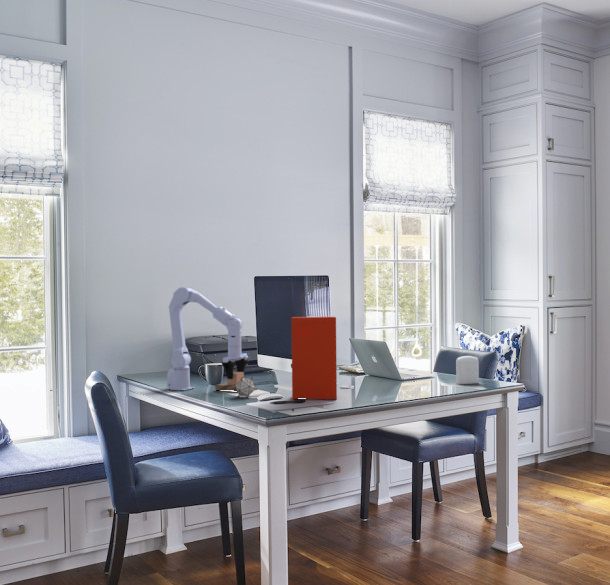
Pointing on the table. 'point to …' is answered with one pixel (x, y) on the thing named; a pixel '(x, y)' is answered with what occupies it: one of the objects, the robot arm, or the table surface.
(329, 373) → the file binder
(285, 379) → the table surface
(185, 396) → the table surface
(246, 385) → the game die
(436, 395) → the table surface
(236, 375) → the cube
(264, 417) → the table surface
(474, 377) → the grey smart speaker
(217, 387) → the plinth
